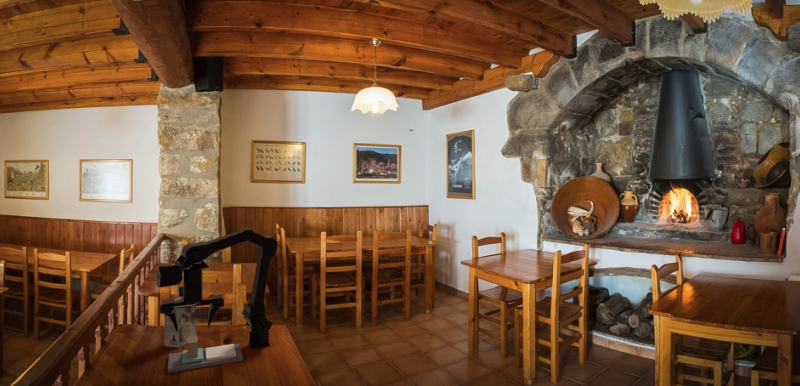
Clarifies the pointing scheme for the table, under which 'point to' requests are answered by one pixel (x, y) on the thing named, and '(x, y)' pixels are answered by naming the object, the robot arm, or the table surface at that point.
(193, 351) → the stub
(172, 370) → the board
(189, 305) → the robot arm
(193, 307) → the coffee box
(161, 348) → the table surface
